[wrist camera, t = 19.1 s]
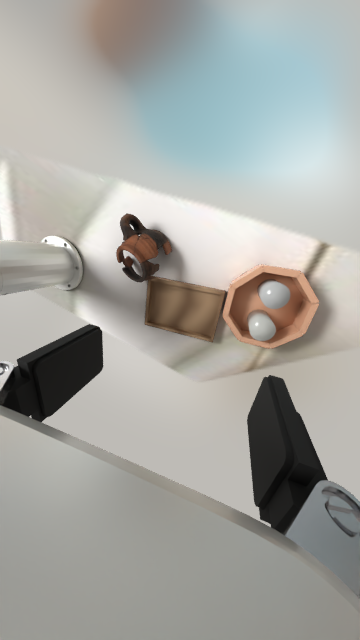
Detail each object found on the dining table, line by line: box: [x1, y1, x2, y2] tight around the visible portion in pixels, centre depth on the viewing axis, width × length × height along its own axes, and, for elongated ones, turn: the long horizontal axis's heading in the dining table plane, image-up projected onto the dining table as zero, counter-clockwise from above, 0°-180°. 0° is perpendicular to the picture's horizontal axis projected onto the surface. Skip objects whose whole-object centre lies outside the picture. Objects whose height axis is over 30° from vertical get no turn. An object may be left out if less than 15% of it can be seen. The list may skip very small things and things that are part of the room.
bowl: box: [223, 264, 319, 349], centre depth 32 cm, size 14×14×4 cm
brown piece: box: [116, 214, 172, 282], centre depth 34 cm, size 12×10×8 cm
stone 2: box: [247, 309, 276, 341], centre depth 32 cm, size 4×4×6 cm
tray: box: [145, 276, 225, 342], centre depth 38 cm, size 16×11×2 cm
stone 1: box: [257, 279, 290, 309], centre depth 30 cm, size 4×4×6 cm
